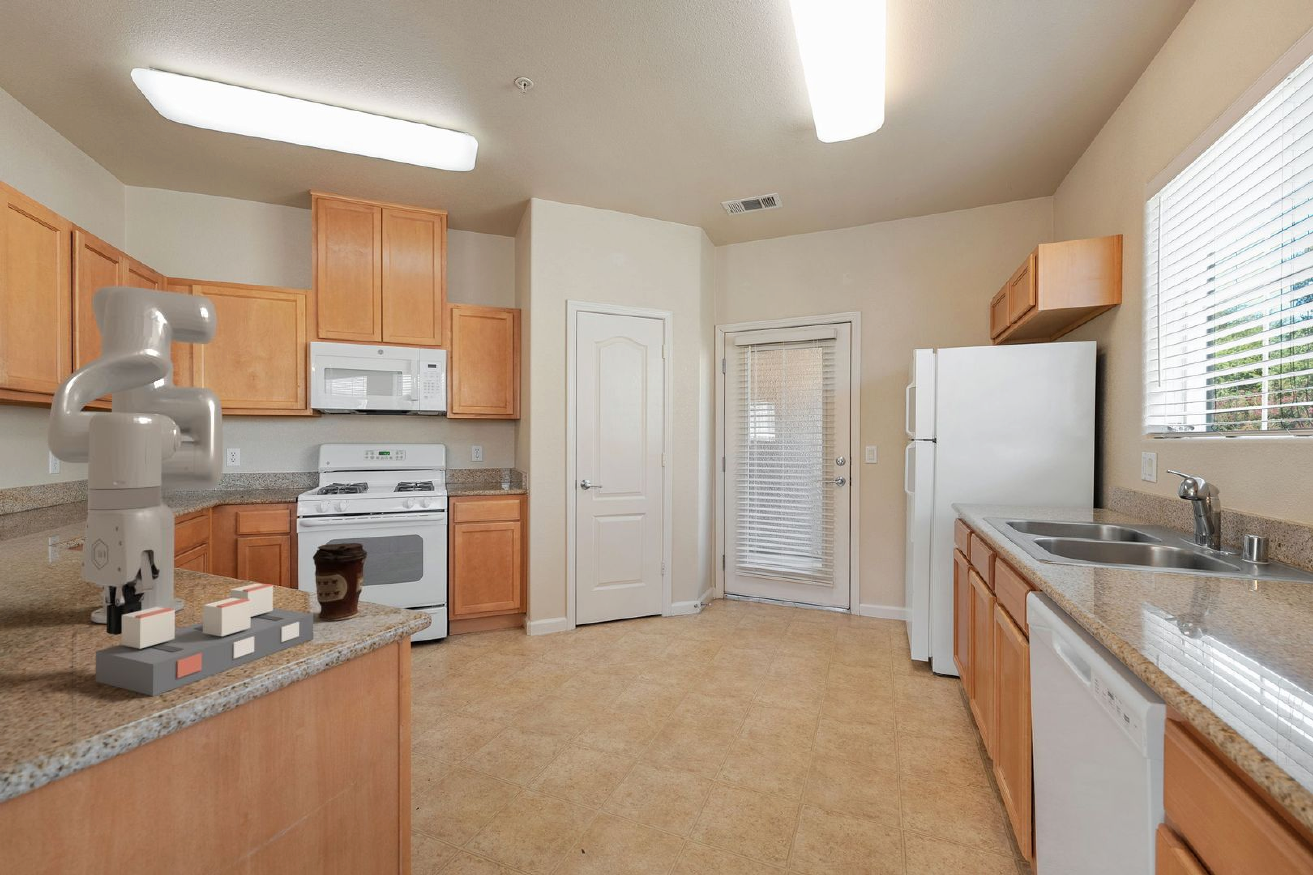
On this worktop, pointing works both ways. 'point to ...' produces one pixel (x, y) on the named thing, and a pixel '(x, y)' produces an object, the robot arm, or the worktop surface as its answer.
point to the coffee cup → (339, 579)
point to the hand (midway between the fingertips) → (124, 630)
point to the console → (200, 653)
